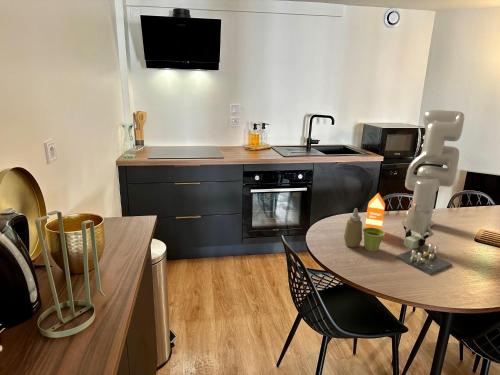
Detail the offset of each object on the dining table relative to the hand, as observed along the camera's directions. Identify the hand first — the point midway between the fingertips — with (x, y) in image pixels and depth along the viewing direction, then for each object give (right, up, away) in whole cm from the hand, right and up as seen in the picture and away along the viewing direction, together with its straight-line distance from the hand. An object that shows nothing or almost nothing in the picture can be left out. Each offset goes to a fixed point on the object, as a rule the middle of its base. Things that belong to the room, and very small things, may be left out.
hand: (414, 242), depth 162 cm
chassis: (-3, -6, -15) cm, 16 cm away
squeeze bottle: (-30, -1, -1) cm, 30 cm away
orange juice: (-15, +3, +13) cm, 20 cm away
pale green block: (0, -1, 0) cm, 1 cm away
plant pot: (-22, -2, -4) cm, 22 cm away
